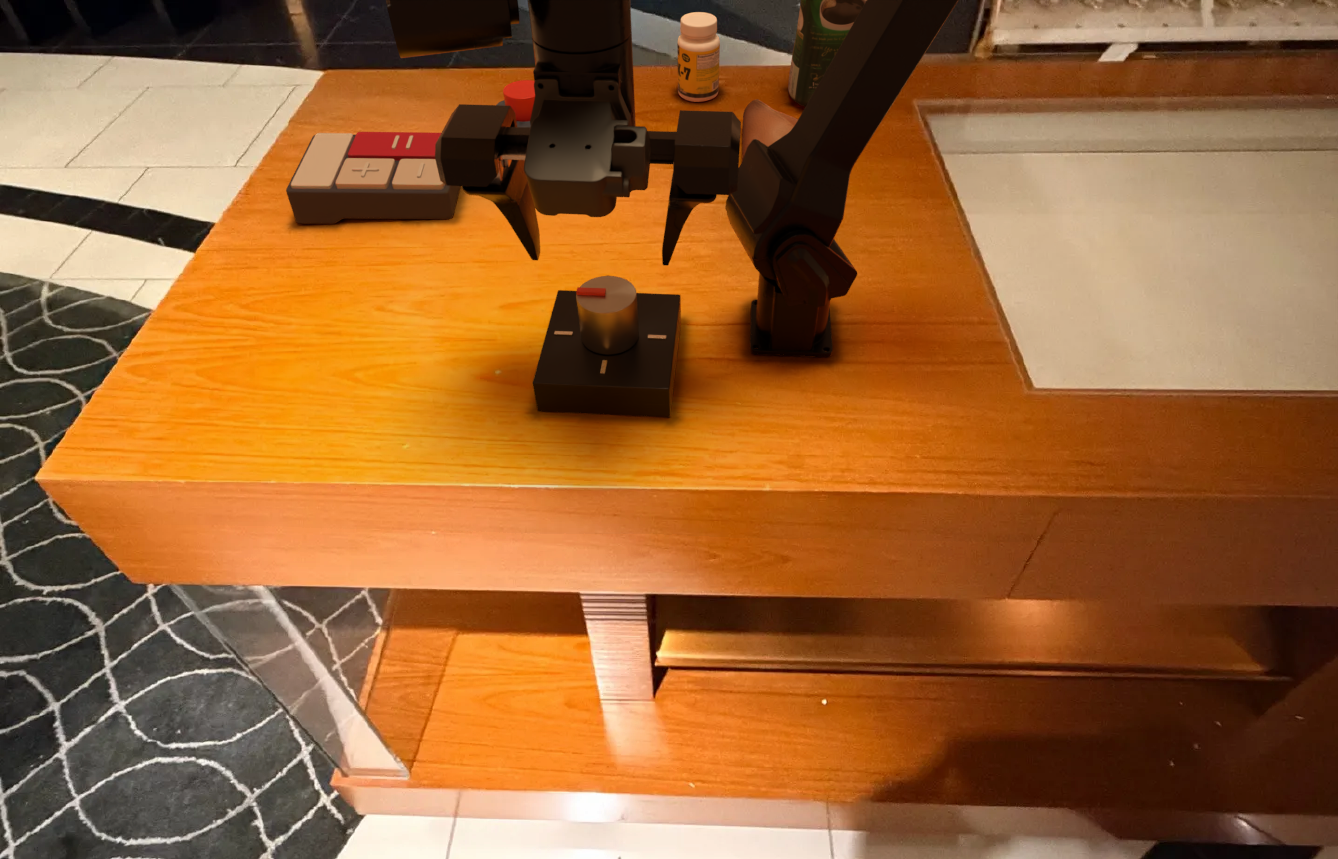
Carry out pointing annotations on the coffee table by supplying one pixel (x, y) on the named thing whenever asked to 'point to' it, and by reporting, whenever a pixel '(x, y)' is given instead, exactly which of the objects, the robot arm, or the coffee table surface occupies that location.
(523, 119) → the button
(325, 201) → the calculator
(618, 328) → the stove knob
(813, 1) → the coffee jar
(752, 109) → the sunglasses case
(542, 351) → the panel
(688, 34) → the supplement bottle
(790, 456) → the coffee table surface
